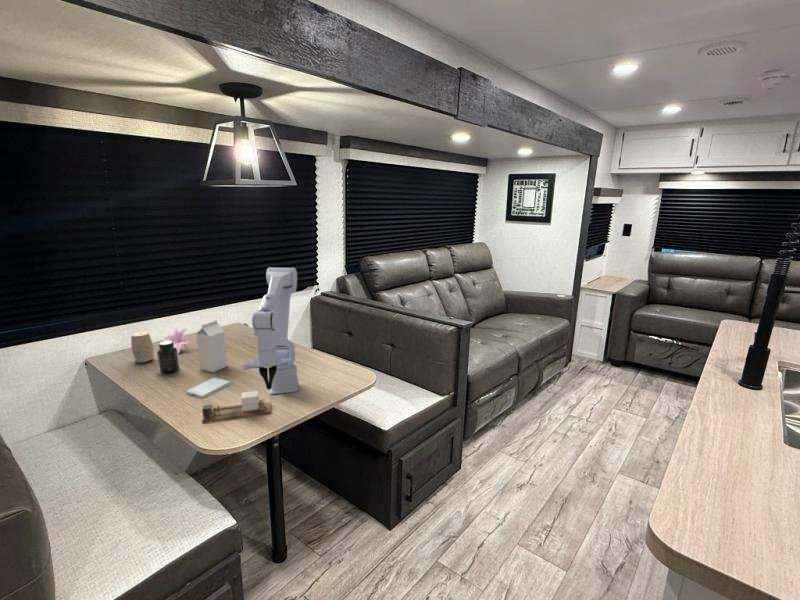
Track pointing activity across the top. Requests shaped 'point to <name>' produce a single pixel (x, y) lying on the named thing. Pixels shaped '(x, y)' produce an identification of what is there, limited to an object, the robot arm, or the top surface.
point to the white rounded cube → (250, 401)
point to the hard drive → (207, 387)
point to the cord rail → (232, 412)
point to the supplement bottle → (168, 358)
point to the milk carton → (211, 347)
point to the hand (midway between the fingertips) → (269, 387)
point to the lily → (177, 338)
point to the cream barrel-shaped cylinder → (142, 347)
